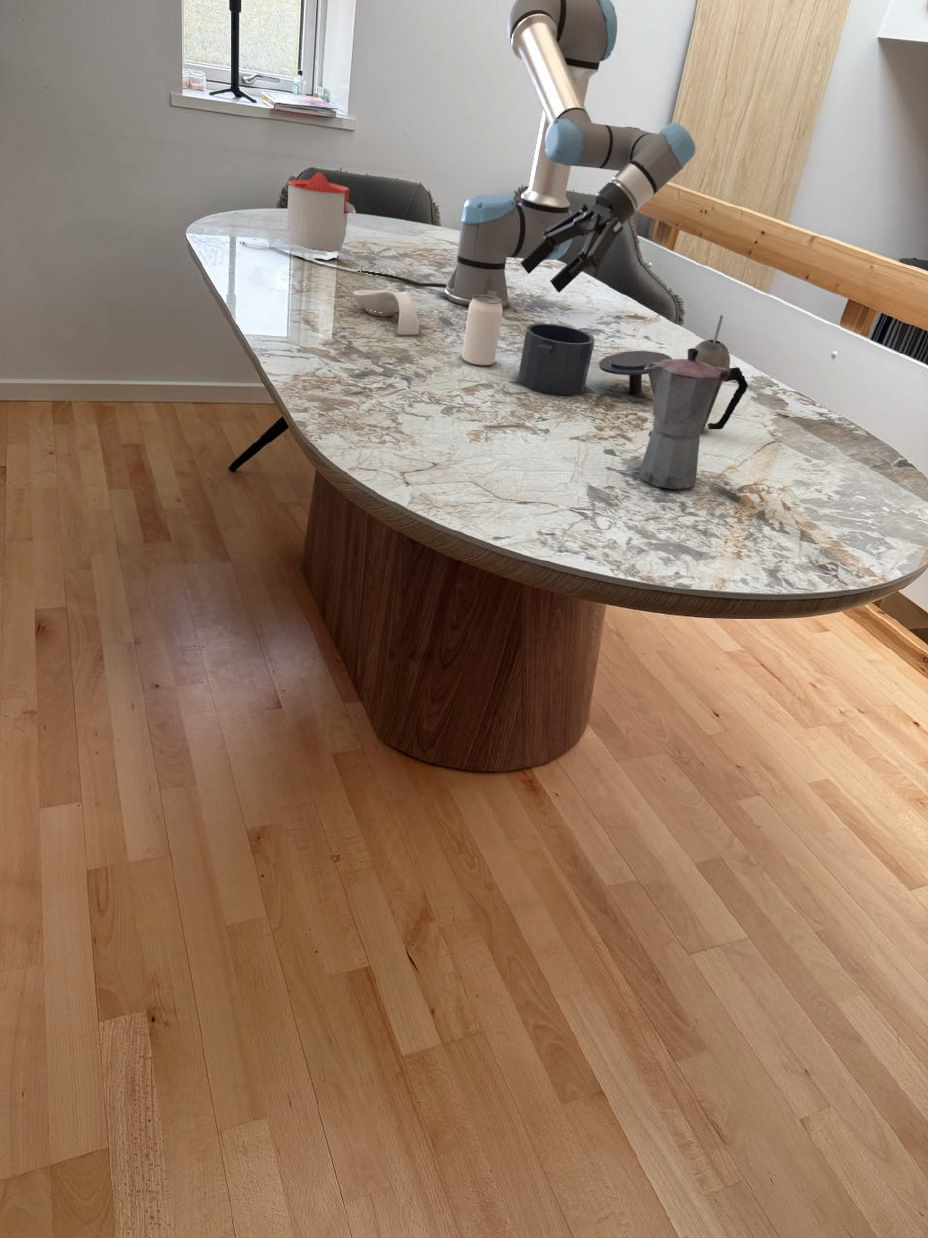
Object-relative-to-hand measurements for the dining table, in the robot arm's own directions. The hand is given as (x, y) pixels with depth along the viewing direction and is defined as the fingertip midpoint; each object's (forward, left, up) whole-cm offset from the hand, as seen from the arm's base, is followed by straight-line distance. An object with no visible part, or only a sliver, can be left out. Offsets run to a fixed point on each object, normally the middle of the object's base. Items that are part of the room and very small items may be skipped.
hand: (538, 277), depth 177 cm
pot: (+9, -9, -16) cm, 21 cm away
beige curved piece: (-33, +5, -16) cm, 37 cm away
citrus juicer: (-75, +44, -16) cm, 88 cm away
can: (-7, -8, -16) cm, 19 cm away
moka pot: (+39, -40, -16) cm, 59 cm away
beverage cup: (+37, -13, -16) cm, 43 cm away
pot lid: (+22, -3, -10) cm, 25 cm away
